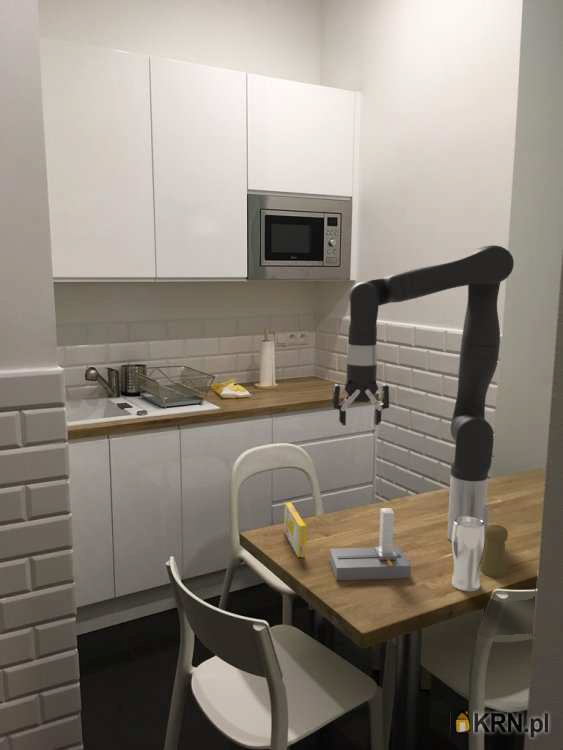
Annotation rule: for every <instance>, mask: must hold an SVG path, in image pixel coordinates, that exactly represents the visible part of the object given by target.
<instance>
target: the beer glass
mask: <svg viewBox="0 0 563 750" xmlns="http://www.w3.org/2000/svg"><path fill="white" fill-rule="evenodd" d="M485 544H486V543H485V522H484V521H483V520H481V519H479V518H476V517H472V516H459V517H456V518H455V519H454V525H453V532H452V541H451V550H452V557H453V574H452V578H451V585H452V587H453V588H455V589H456V588H457V590H458V591H462V592H468V593H469V592H475V591H478V590H479V589H480V587H481V586H480V583H481V582H480V578H479V577H480V576H479V574H480V573H479V572H480V567H481V562H482V558H483V553H484V548H485Z"/></svg>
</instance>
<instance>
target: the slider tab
mask: <svg viewBox="0 0 563 750" xmlns="http://www.w3.org/2000/svg"><path fill="white" fill-rule="evenodd" d="M379 512H380V513H379V536H378V537H379V538H378V539H379V541H378V546H374V547H375V552H376V554H377V556H378V558H379V560H397V555H396V553H395V552H394V550H393V547H394V526H395V525H394V524H395V512H394V511H393V509H392V508H391V507H390V508H389V507H388V508H386V507H384V508H380V511H379Z"/></svg>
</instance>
